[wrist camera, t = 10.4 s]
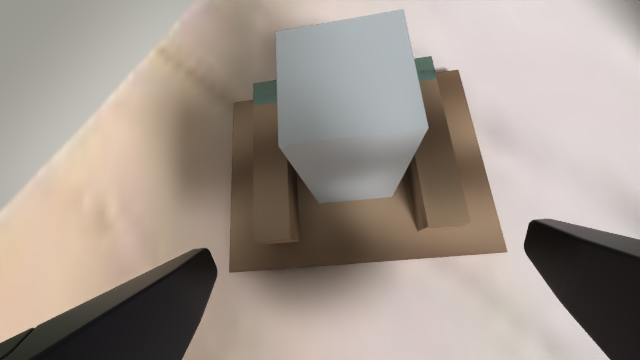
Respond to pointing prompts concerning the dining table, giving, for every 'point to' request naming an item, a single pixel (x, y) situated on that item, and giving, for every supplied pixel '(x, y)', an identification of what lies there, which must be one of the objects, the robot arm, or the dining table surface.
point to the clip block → (349, 105)
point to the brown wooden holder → (369, 214)
